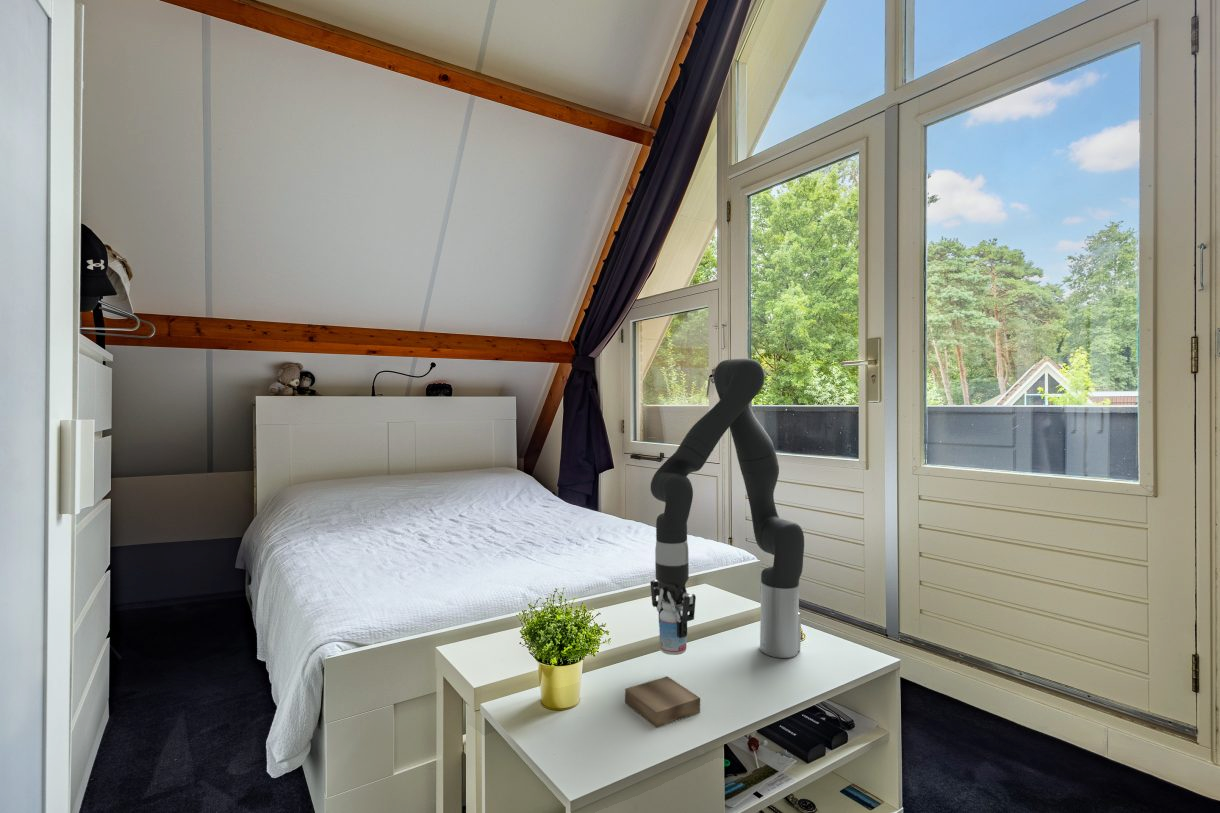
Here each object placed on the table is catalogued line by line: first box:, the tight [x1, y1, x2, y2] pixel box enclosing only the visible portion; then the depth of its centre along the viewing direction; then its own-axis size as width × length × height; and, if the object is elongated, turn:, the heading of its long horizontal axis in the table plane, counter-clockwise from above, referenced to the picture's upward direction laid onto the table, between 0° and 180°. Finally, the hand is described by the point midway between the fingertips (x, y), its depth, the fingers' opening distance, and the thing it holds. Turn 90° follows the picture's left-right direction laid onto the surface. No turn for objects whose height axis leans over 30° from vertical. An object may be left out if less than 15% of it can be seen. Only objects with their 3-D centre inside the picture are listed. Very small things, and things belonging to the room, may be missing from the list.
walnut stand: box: [624, 676, 701, 728], centre depth 127 cm, size 11×11×3 cm
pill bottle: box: [658, 600, 687, 656], centre depth 140 cm, size 6×6×11 cm
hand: (672, 631), depth 140 cm, fingers closed on pill bottle, 6 cm apart
